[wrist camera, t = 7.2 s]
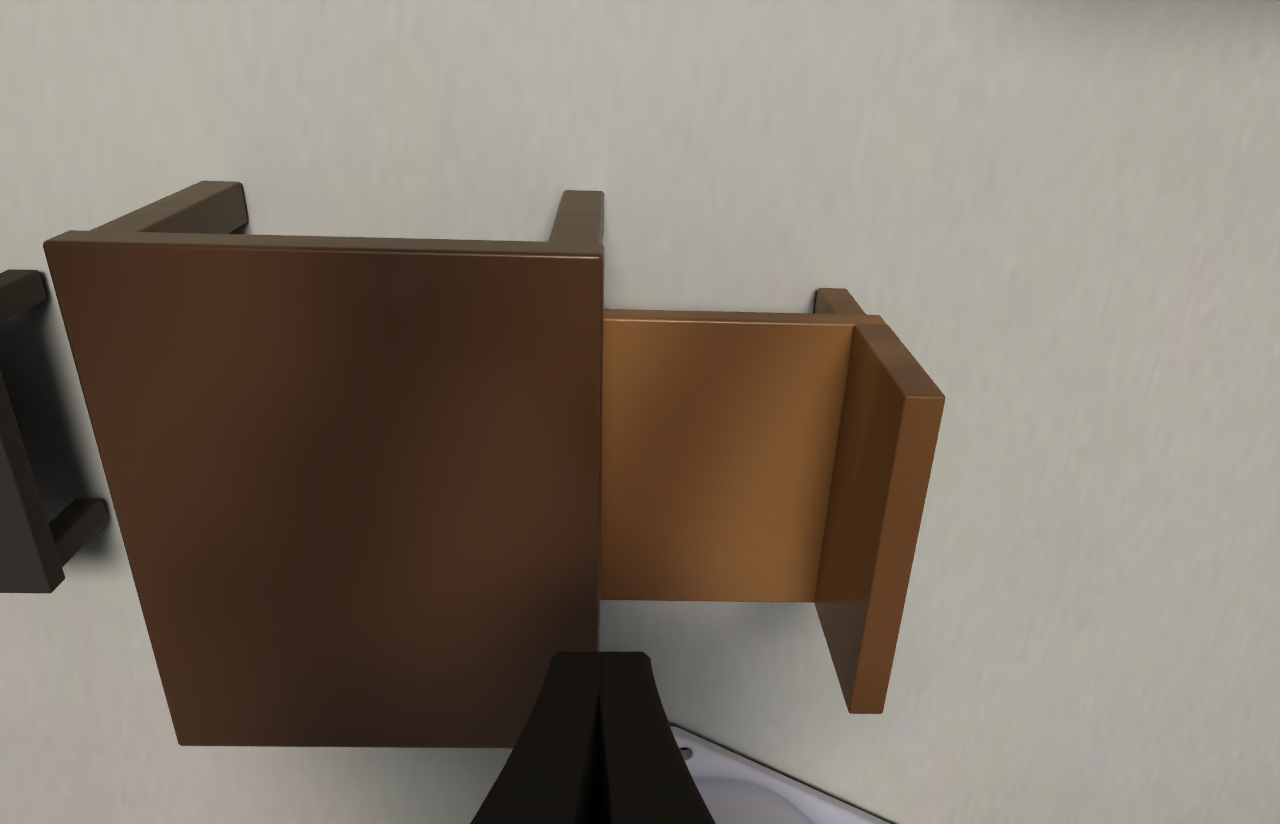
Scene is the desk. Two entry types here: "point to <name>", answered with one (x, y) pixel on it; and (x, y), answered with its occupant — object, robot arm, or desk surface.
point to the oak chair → (769, 468)
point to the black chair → (32, 485)
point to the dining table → (346, 466)
